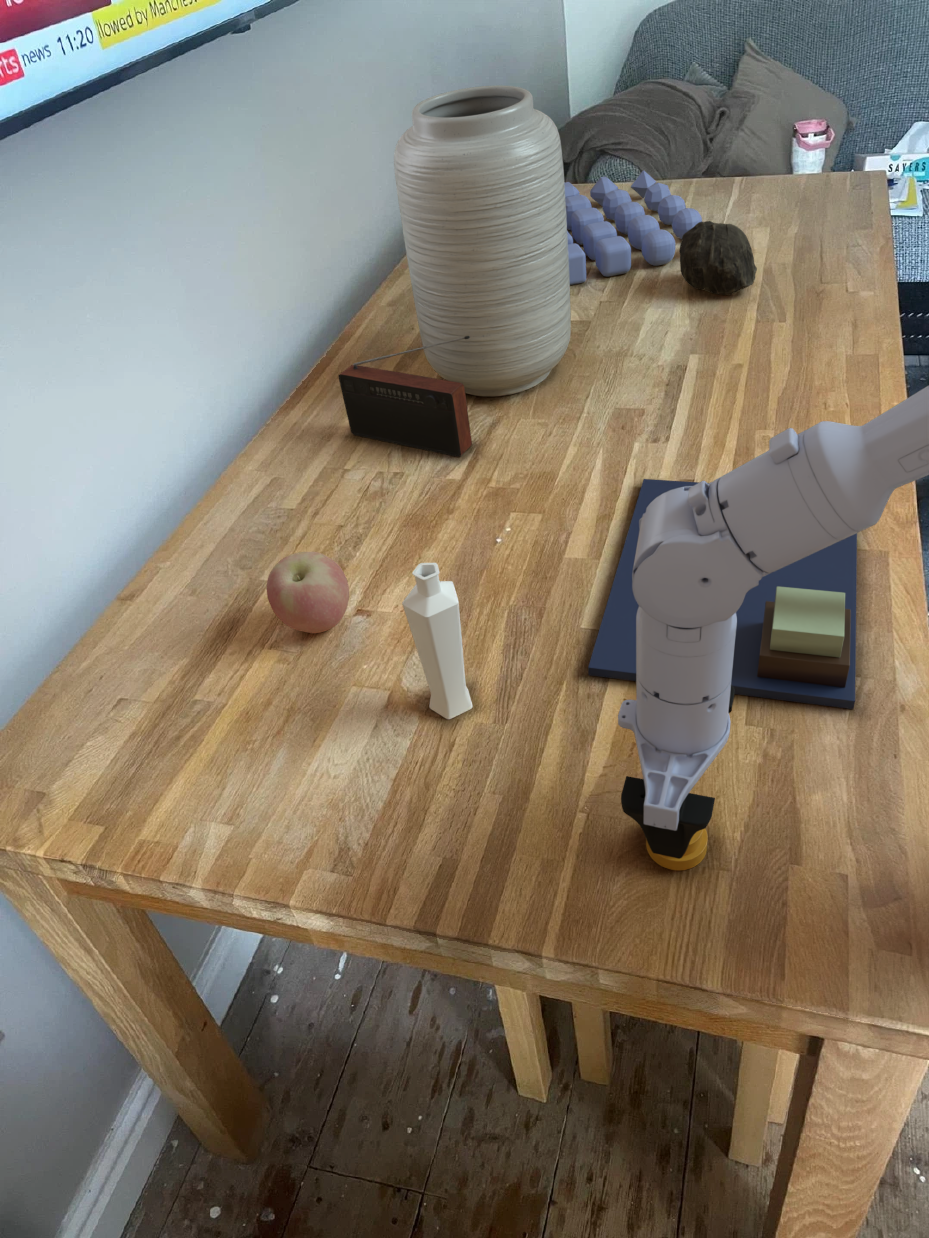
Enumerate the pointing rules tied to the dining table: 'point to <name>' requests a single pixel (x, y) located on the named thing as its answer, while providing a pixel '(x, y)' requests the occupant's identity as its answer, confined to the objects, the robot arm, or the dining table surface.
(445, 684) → the perfume bottle
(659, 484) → the board
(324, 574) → the apple
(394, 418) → the radio
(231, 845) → the dining table surface
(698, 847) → the cone
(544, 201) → the vase
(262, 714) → the dining table surface
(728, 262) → the rock
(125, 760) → the dining table surface
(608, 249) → the blocks
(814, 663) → the block stack
